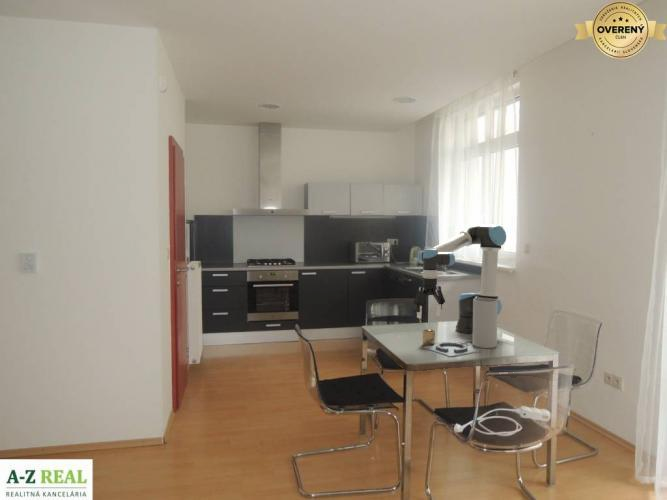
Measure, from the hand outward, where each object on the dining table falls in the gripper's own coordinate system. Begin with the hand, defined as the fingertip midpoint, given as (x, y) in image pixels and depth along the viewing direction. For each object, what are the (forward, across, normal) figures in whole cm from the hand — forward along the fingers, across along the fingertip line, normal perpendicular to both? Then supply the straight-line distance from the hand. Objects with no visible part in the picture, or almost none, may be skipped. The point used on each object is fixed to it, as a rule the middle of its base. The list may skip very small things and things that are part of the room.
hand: (429, 317), depth 266 cm
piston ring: (+15, -4, +13) cm, 21 cm away
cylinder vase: (+15, -26, +15) cm, 34 cm away
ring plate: (+15, -4, +13) cm, 21 cm away
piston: (+16, 0, 0) cm, 16 cm away
